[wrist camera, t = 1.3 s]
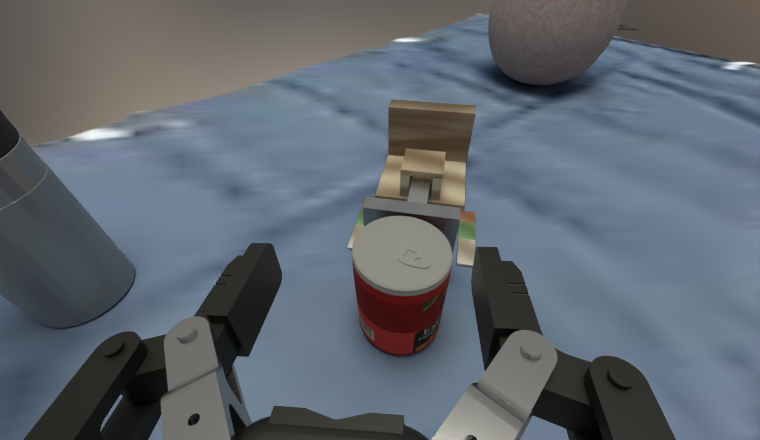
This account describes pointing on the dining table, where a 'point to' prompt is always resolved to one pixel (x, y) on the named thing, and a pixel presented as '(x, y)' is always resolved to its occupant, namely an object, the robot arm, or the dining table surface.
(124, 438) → the robot arm
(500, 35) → the plant pot
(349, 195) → the dining table surface
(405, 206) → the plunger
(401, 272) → the canned food
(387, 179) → the wooden stand
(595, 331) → the dining table surface
